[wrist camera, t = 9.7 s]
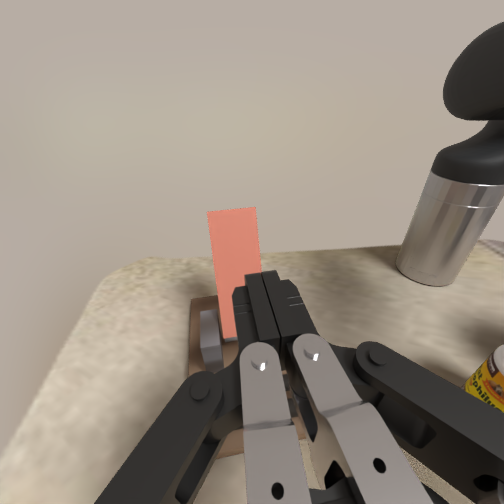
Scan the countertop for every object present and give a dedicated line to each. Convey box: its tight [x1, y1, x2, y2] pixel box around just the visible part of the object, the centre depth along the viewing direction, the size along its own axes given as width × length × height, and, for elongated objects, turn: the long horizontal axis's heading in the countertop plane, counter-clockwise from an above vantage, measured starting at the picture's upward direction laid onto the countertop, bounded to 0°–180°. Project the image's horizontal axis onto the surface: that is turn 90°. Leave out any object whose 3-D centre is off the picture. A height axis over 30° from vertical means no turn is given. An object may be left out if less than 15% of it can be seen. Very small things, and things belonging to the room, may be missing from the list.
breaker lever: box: [207, 207, 262, 342], centre depth 28 cm, size 2×5×15 cm, turn 99°
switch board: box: [188, 295, 306, 459], centre depth 30 cm, size 20×14×6 cm
